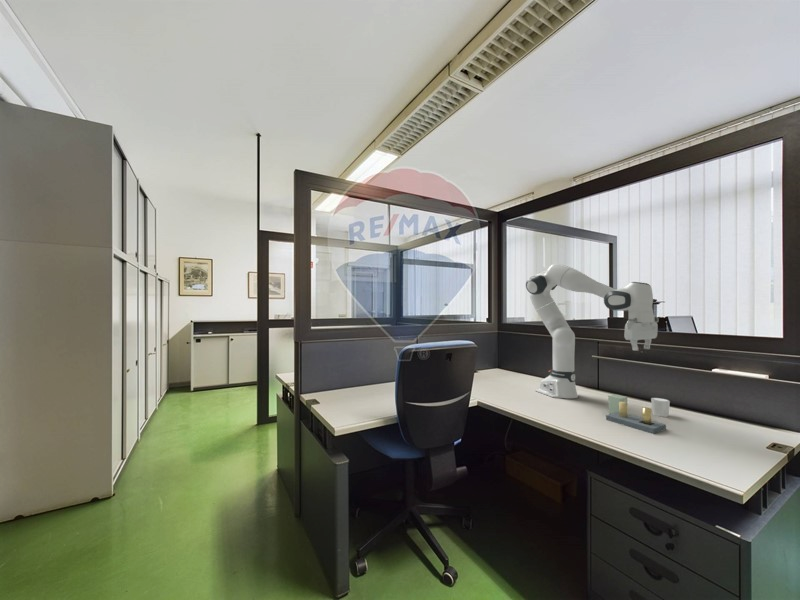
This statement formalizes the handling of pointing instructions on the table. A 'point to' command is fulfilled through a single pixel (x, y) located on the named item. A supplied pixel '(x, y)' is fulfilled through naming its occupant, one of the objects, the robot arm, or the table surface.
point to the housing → (615, 402)
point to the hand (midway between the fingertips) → (641, 349)
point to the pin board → (634, 420)
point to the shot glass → (660, 407)
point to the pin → (647, 416)
